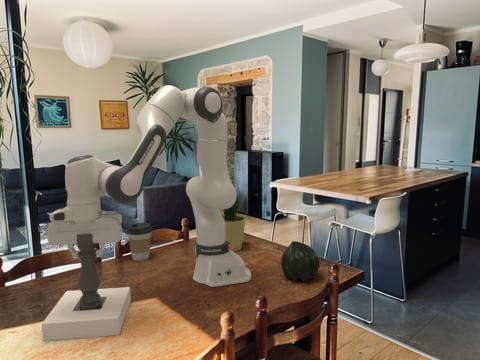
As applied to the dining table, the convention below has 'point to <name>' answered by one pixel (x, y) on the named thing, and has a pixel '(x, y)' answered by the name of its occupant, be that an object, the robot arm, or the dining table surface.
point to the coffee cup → (139, 240)
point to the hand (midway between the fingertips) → (87, 257)
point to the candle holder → (88, 274)
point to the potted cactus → (234, 226)
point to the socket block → (87, 316)
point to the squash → (299, 261)
